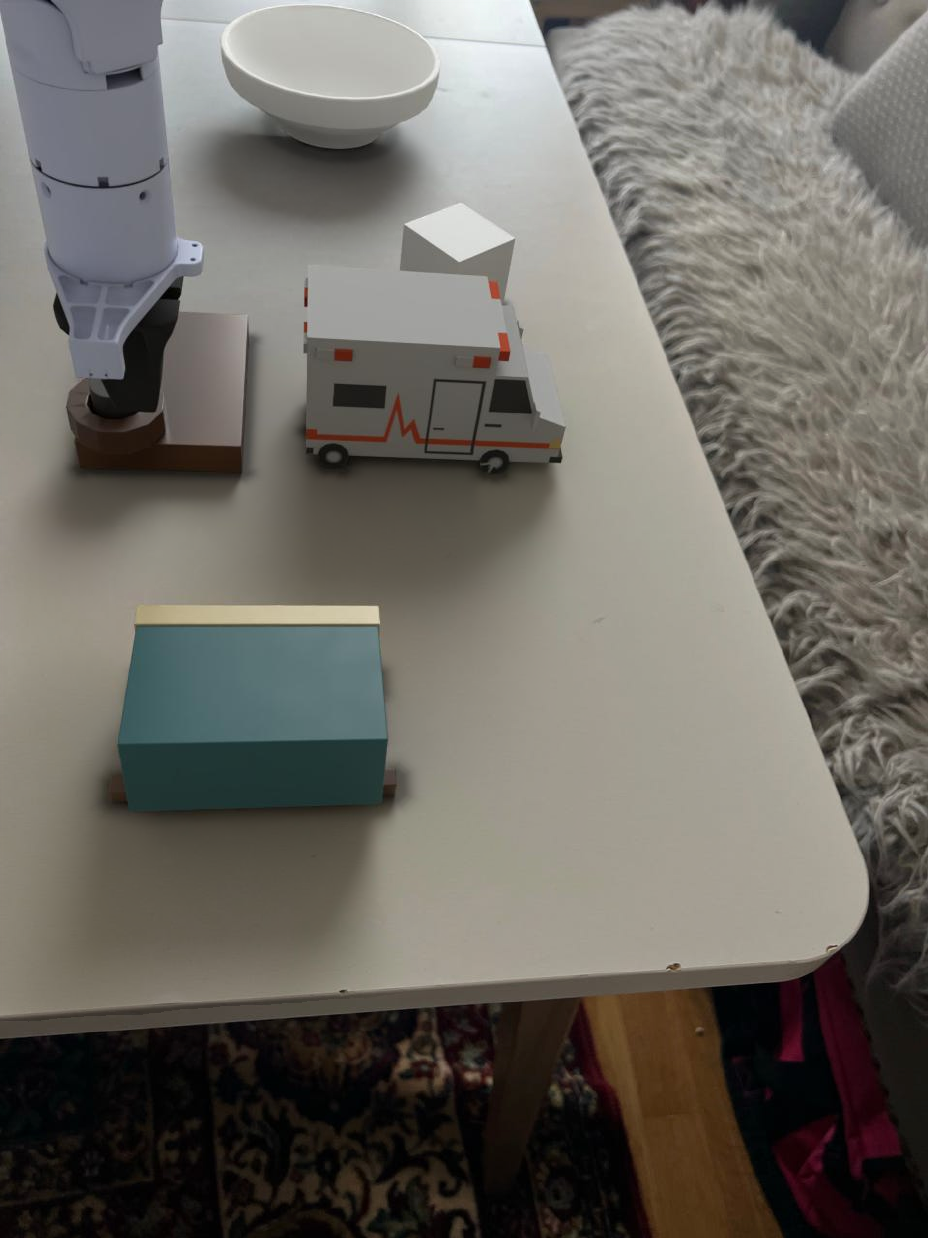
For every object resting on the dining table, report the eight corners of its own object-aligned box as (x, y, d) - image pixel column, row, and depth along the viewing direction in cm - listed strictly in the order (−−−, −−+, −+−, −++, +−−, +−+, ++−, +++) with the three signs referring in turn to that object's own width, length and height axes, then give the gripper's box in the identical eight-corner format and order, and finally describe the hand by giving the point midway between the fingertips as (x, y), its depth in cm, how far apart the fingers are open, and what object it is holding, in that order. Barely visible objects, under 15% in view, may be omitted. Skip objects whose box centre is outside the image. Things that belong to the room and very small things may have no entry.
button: (90, 419, 61) (85, 396, 60) (96, 390, 63) (91, 367, 61) (138, 421, 62) (134, 398, 60) (142, 391, 63) (139, 369, 62)
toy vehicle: (560, 484, 68) (594, 363, 61) (302, 475, 66) (303, 347, 58) (541, 394, 74) (569, 273, 67) (303, 382, 72) (304, 255, 64)
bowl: (467, 169, 94) (477, 90, 89) (265, 192, 87) (263, 108, 81) (384, 74, 104) (389, -2, 99) (197, 88, 97) (191, 7, 91)
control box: (71, 479, 63) (60, 429, 60) (101, 333, 72) (92, 283, 69) (241, 483, 64) (239, 435, 61) (249, 340, 74) (247, 292, 71)
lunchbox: (114, 743, 44) (136, 604, 51) (127, 813, 48) (146, 675, 54) (390, 738, 46) (378, 605, 53) (383, 805, 50) (373, 673, 56)
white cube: (502, 306, 81) (515, 238, 76) (449, 332, 78) (459, 262, 73) (451, 270, 83) (460, 201, 78) (397, 293, 80) (403, 223, 75)
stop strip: (111, 802, 49) (108, 792, 49) (113, 784, 50) (110, 774, 49) (395, 794, 52) (397, 785, 51) (394, 777, 52) (395, 768, 52)
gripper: (181, 254, 40) (205, 501, 50) (206, 86, 49) (222, 326, 59) (-9, 241, 38) (55, 497, 49) (52, 72, 47) (96, 319, 58)
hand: (137, 403), depth 54 cm, fingers closed
